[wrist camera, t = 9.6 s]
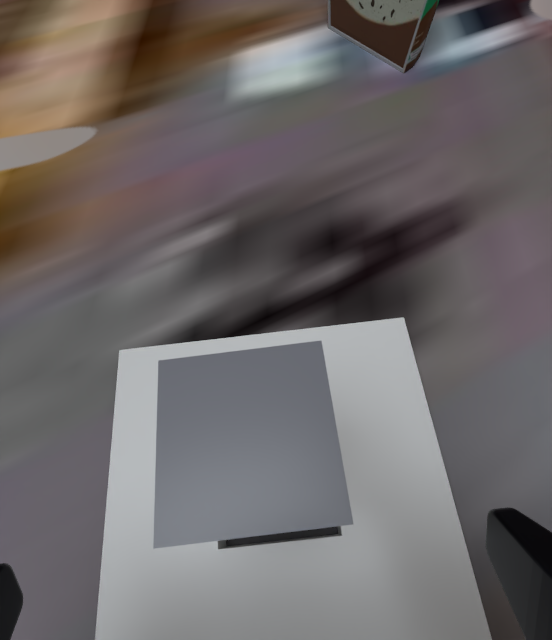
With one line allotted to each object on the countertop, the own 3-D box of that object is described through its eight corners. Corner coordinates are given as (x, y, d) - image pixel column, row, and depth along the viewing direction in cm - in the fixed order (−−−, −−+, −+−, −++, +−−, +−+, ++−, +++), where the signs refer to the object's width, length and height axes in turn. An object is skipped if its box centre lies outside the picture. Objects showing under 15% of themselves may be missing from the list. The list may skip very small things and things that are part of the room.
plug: (323, 520, 19) (353, 524, 8) (239, 530, 19) (153, 548, 8) (311, 433, 20) (321, 340, 10) (234, 442, 20) (158, 360, 10)
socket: (501, 742, 15) (528, 772, 13) (106, 784, 15) (79, 819, 13) (395, 333, 23) (403, 317, 21) (133, 363, 23) (119, 350, 21)
